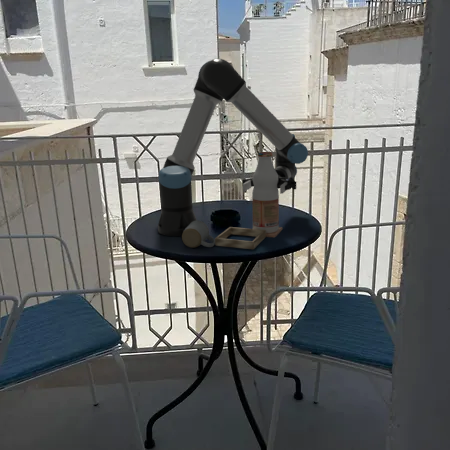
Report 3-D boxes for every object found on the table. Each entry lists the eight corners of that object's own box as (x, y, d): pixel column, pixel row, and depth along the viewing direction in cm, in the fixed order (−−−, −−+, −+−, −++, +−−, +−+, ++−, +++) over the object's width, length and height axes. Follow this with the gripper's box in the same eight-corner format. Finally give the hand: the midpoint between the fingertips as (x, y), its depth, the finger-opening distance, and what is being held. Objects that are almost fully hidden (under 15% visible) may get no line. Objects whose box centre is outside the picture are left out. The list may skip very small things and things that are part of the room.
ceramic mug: (180, 248, 152) (179, 226, 150) (189, 240, 160) (188, 219, 158) (211, 250, 150) (210, 228, 147) (218, 242, 157) (217, 221, 155)
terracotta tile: (247, 235, 164) (247, 232, 163) (256, 227, 172) (256, 225, 172) (274, 237, 160) (274, 235, 160) (282, 229, 169) (282, 227, 169)
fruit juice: (248, 232, 164) (246, 154, 156) (259, 225, 172) (258, 150, 164) (272, 235, 160) (272, 155, 152) (282, 227, 168) (283, 151, 160)
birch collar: (215, 245, 154) (214, 238, 153) (230, 233, 166) (229, 226, 165) (253, 249, 149) (253, 242, 148) (265, 236, 161) (265, 230, 160)
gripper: (310, 188, 174) (297, 201, 155) (248, 185, 183) (229, 197, 164) (311, 168, 172) (297, 179, 153) (248, 166, 181) (228, 176, 162)
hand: (262, 188), depth 158 cm, fingers open, 13 cm apart
